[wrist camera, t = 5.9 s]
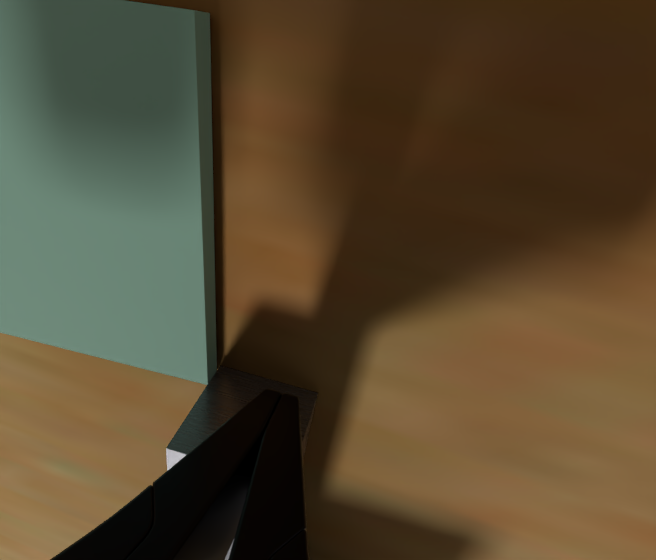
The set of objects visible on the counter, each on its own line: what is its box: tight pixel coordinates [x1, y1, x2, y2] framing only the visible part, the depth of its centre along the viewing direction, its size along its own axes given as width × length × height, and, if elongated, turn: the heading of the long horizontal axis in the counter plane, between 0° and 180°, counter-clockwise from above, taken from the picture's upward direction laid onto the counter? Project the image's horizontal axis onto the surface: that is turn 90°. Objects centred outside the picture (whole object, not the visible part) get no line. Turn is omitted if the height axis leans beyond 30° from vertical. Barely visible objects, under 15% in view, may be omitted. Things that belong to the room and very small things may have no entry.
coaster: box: [0, 0, 217, 385], centre depth 10 cm, size 9×9×1 cm
